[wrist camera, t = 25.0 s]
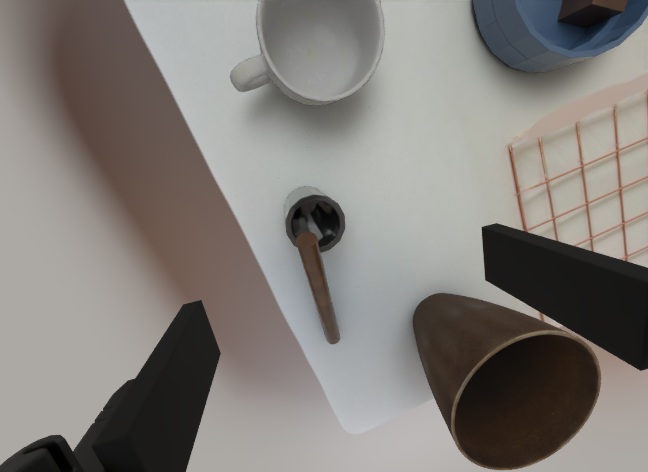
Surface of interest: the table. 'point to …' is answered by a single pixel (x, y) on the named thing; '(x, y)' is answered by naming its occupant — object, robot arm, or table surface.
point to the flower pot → (504, 379)
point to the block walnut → (589, 11)
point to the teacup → (314, 48)
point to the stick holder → (314, 217)
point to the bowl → (549, 32)
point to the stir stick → (318, 283)
